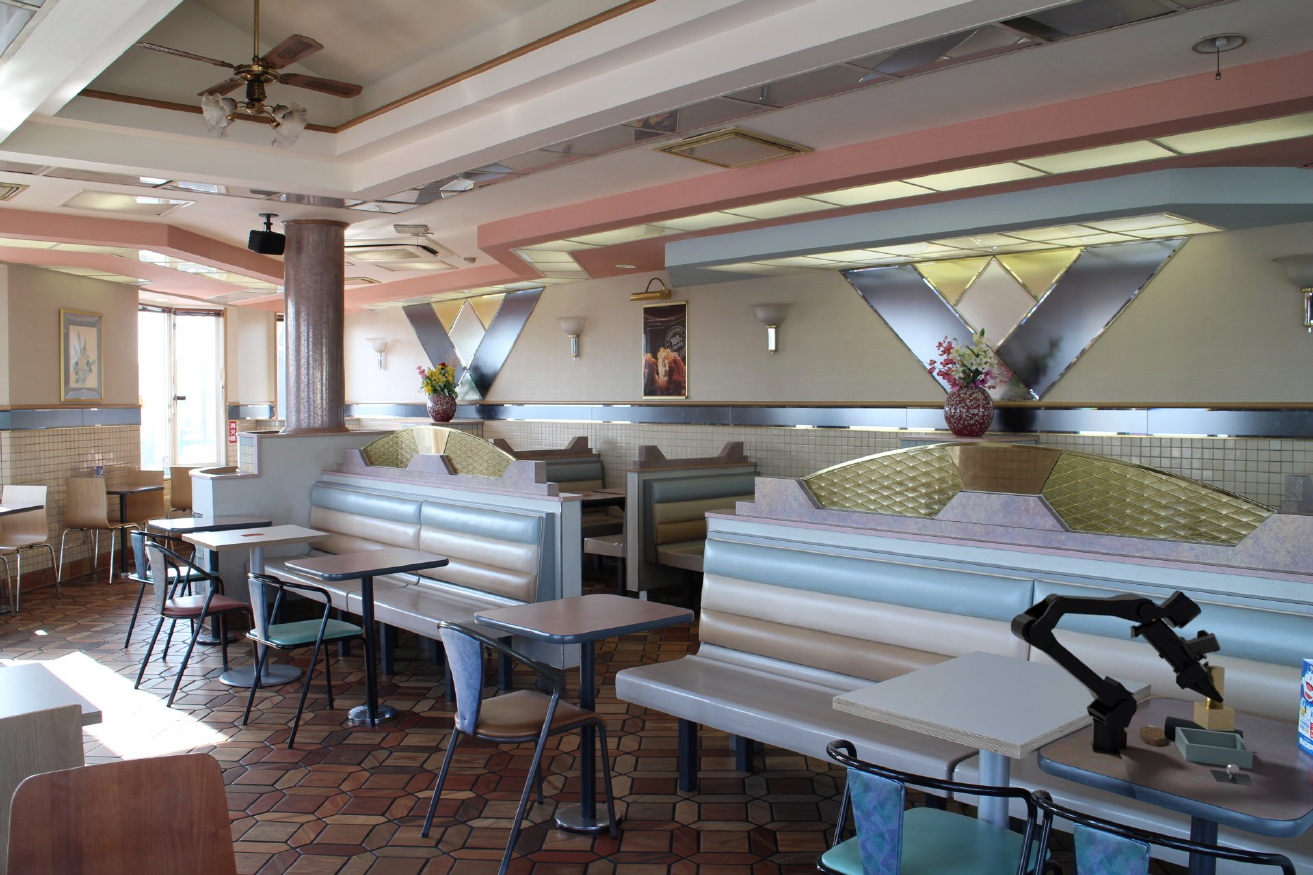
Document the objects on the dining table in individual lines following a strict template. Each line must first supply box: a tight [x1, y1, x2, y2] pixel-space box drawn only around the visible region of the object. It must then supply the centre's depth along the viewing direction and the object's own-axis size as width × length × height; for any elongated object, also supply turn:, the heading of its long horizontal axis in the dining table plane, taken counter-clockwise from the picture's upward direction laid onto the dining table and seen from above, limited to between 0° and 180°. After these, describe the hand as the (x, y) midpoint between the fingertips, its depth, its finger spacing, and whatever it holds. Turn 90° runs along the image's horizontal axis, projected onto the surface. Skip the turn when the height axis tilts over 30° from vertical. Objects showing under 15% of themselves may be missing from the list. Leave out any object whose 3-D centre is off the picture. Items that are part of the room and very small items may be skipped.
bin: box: [1174, 727, 1254, 770], centre depth 207 cm, size 12×12×4 cm
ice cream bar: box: [1139, 725, 1167, 747], centre depth 219 cm, size 5×4×15 cm
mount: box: [1209, 764, 1257, 787], centre depth 194 cm, size 7×7×4 cm
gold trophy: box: [1193, 664, 1236, 731], centre depth 207 cm, size 6×6×13 cm
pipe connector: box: [1163, 715, 1244, 740], centre depth 220 cm, size 12×5×15 cm
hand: (1221, 699), depth 206 cm, fingers closed on gold trophy, 3 cm apart
